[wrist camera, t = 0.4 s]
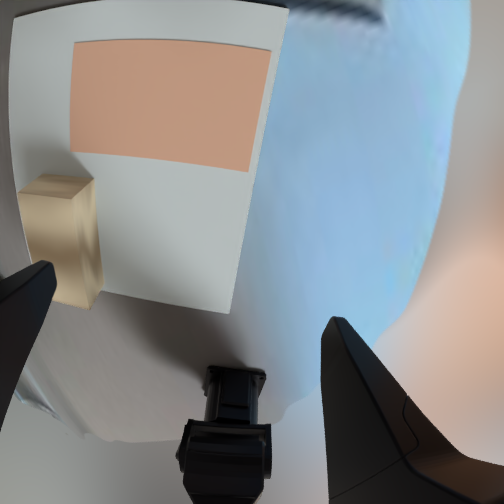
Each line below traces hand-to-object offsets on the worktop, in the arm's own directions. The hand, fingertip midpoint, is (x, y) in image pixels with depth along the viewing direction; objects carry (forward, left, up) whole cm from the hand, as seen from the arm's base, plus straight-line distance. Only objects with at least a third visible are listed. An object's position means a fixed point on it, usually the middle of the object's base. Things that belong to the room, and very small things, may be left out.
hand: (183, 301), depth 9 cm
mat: (-1, +8, -13) cm, 16 cm away
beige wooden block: (-7, +12, -13) cm, 19 cm away
